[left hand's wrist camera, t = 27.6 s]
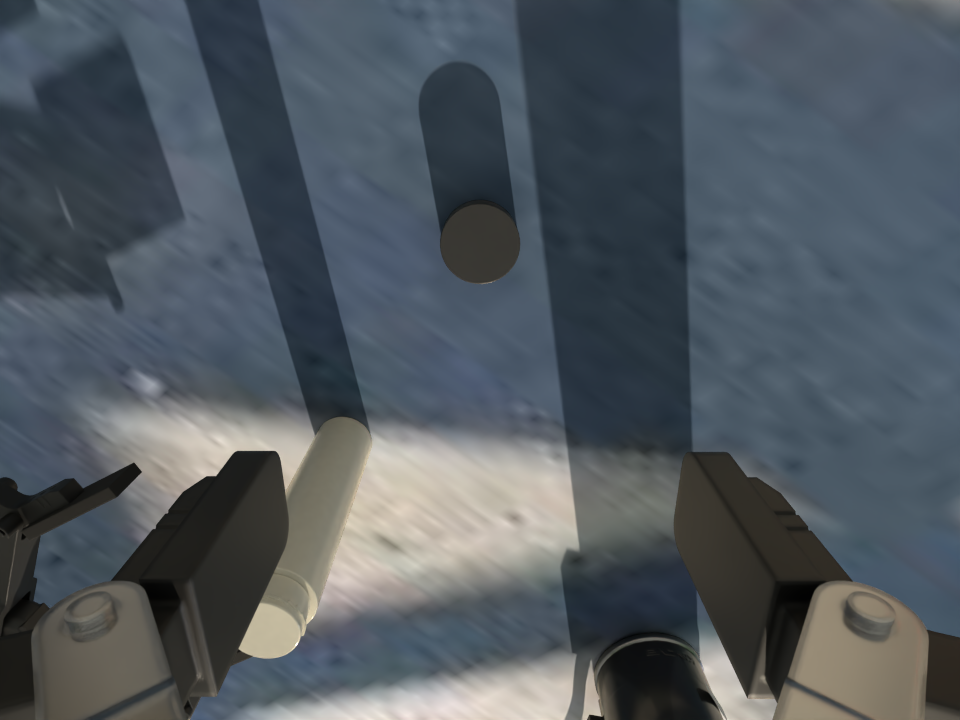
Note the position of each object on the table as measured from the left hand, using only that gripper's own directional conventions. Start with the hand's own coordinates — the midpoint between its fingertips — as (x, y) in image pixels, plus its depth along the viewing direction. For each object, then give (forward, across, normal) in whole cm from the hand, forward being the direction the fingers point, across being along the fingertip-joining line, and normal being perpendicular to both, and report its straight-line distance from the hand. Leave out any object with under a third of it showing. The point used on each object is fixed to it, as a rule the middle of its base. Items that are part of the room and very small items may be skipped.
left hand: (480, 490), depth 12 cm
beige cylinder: (+28, +10, +15) cm, 33 cm away
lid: (+26, 0, 0) cm, 26 cm away
